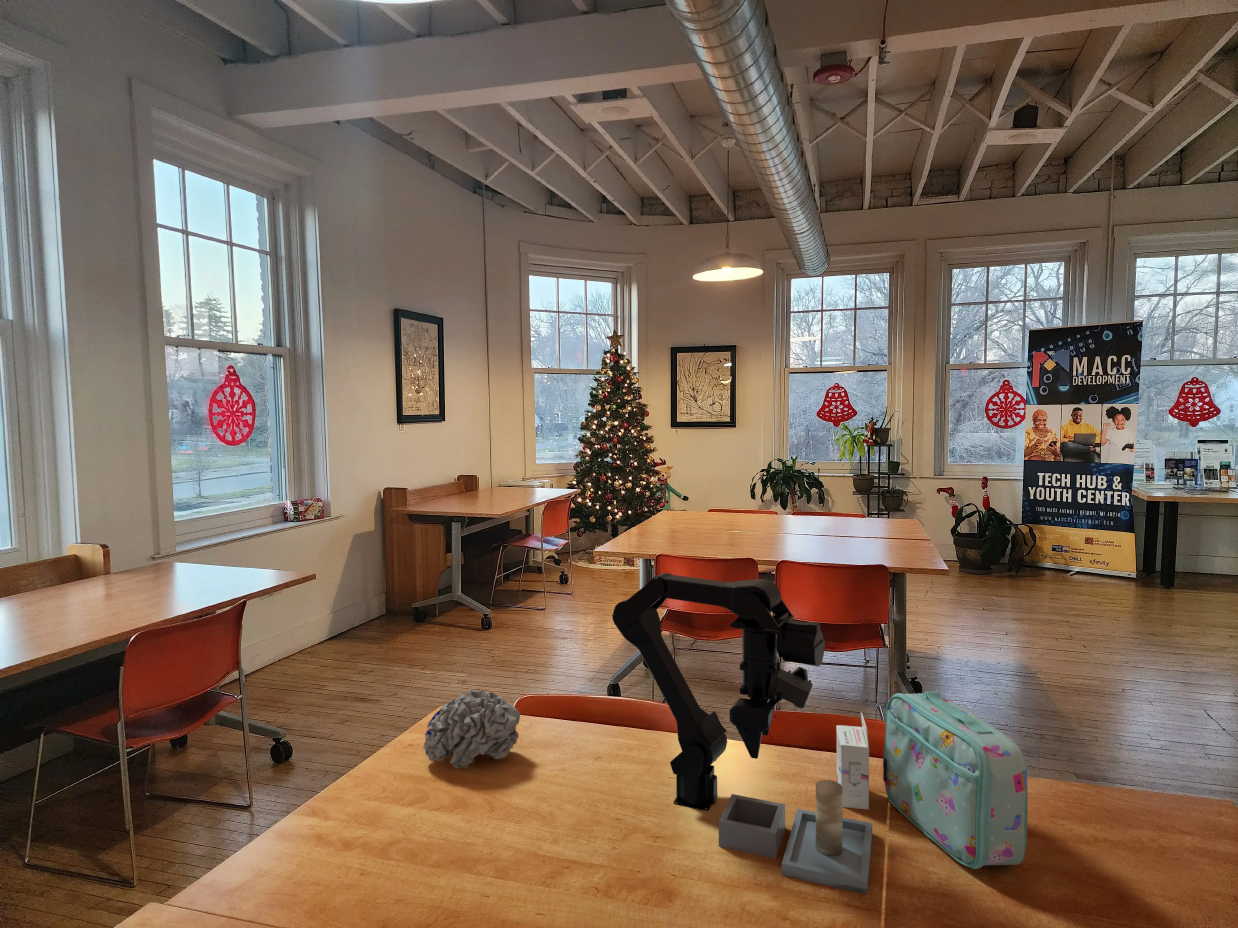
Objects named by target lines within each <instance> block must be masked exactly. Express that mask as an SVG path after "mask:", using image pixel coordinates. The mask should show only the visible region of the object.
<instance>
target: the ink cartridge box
mask: <svg viewBox="0 0 1238 928" xmlns="http://www.w3.org/2000/svg"><path fill="white" fill-rule="evenodd" d="M863 714H864V713H863V711H860V718H861V726H854V725H853V726H852V725H838V724H837V725H836V726H835V727H836V782H837V783H839V784H840V785H841V786H842V788H843V804H842V808H847V809H848V808H849V809H859V810H860V809H861V810H870V746H869V733H868V728H867V724H866V721H865V718H864V715H863Z"/></svg>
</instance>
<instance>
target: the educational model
mask: <svg viewBox="0 0 1238 928" xmlns="http://www.w3.org/2000/svg"><path fill="white" fill-rule="evenodd" d="M520 719H521V713H520V711H518V709H517V708H516V707H515V706H513V705H511V703H508V702H507V701H506V700H505V699H504V696H502V695H497V694H496V693H494V692H492V691H484V690H481V689H479V690H476V689H473V690H469V691H467V694H466V693H463V692H461V695H460V696H458V697H456V698H455V699H453V700H452V701H448V703H446V704H444V705H443V706H441V708H440V709H439V711H437V712H436V713H434V715H433V716H432V717H431V719H430V721H429V722H428V724H427V727H426V728H427V730H426V731H425V734H424V736H425V741H424V742H423V747H422V748H423V749H424V751H425V756H426V757H428V760H429V761H431V762H433V761H438V762H443V760H444V759H445V758H448V759H449V758H450V757H451V756H452V757H451V759H450V762H449V764H451V765H452V767H454V768H456V769H457V770H458V769H467V768H469V765H470V764H471V763H473V761H474V758H475V757H476V756H479V755H482V756H483V755H486V756H489V757H491V758H493V759H495V760H502V759H505V758H506V757H507V756H508V755H509V753H510V751H511V749H513V748H514V747H513V746H514V745H516V744H517V741H518V739H519V737H520V736H519V731H518V732H517V725H519V724H520Z"/></svg>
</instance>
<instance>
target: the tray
mask: <svg viewBox="0 0 1238 928" xmlns="http://www.w3.org/2000/svg"><path fill="white" fill-rule="evenodd" d="M795 813H796V814H795V815H794V816H795V817H794V820H793V822H792V826H791V830H790V834H789V838H788V840H787V844H786V848H785V851H784V854H783V858H782V862H781V876H784V877H785V876H786V877H789V878H793V879H798V880H802V881H807V882H811V883H815V884H819V885H823V886H828V887H831V888H836V889H840V890H845V891H850V892H853V893H858V894H861V895H866V896H868V889H869V888H868V886H869V876H870V867H871V866H870V863H871V853H872V843H873V842H872V841H873V823H872V822H867V821H862V820H858V819H857V820H856V819H852V818H847V817H842V853H841V854H840V855H839V856H834V857H831V856H826V855H823V854H821V853H819V852H818V851H817V849H816V811H810V810H806V809H800V808H797V809H796V812H795Z"/></svg>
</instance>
